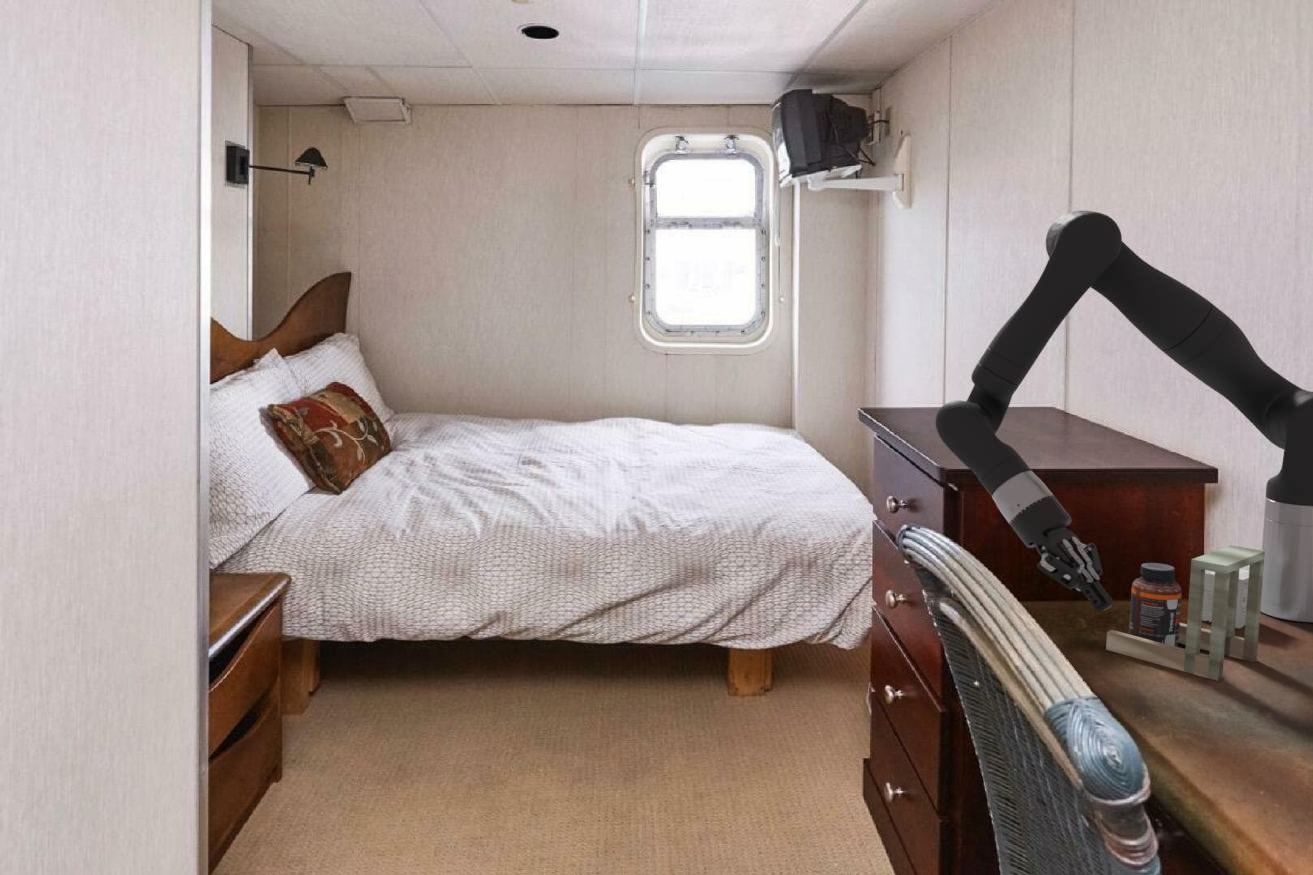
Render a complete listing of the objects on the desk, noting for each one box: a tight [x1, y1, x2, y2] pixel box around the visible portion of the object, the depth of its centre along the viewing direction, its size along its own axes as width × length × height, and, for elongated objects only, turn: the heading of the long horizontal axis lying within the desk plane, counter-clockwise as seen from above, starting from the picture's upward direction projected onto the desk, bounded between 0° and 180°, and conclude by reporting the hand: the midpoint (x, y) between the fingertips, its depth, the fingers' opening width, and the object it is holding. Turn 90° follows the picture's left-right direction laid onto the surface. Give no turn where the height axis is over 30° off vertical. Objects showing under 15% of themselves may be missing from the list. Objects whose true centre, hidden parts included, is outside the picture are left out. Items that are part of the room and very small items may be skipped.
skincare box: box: [1202, 568, 1249, 629], centre depth 138 cm, size 6×6×7 cm
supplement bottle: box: [1128, 562, 1183, 647], centre depth 127 cm, size 6×6×11 cm
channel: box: [1105, 545, 1265, 682], centre depth 124 cm, size 11×14×14 cm
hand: (1107, 608), depth 132 cm, fingers closed
